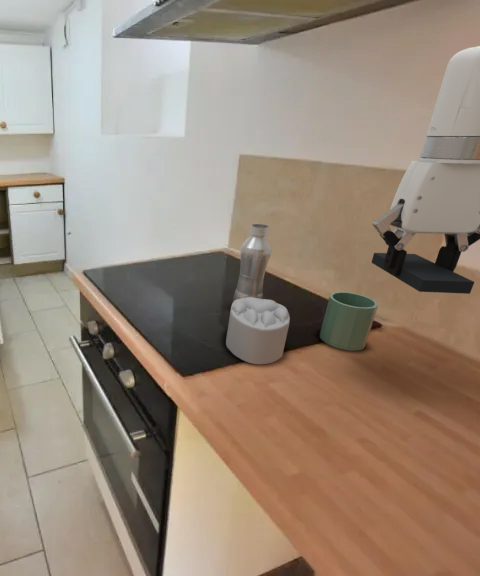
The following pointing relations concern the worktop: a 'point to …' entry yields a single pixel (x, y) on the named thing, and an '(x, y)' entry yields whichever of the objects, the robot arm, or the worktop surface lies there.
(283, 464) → the worktop surface
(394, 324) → the worktop surface
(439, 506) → the worktop surface
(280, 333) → the lumpy-topped squat cylinder
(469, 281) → the dark blue flat block
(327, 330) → the cup
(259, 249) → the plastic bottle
